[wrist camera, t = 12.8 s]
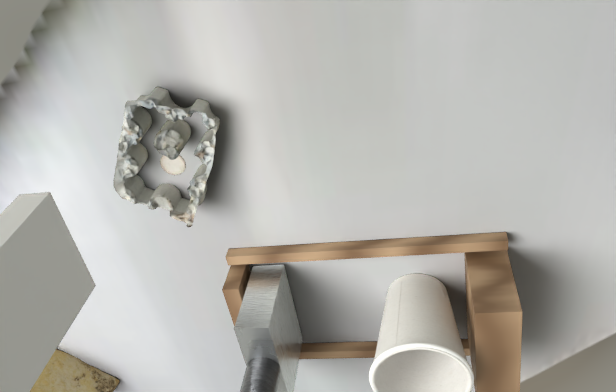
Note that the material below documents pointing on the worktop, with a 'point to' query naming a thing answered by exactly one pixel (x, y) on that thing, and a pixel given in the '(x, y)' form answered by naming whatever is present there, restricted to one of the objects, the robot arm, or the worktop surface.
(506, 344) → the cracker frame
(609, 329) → the worktop surface
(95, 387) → the rock
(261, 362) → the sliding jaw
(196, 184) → the egg carton
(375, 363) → the dixie cup
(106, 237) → the worktop surface
